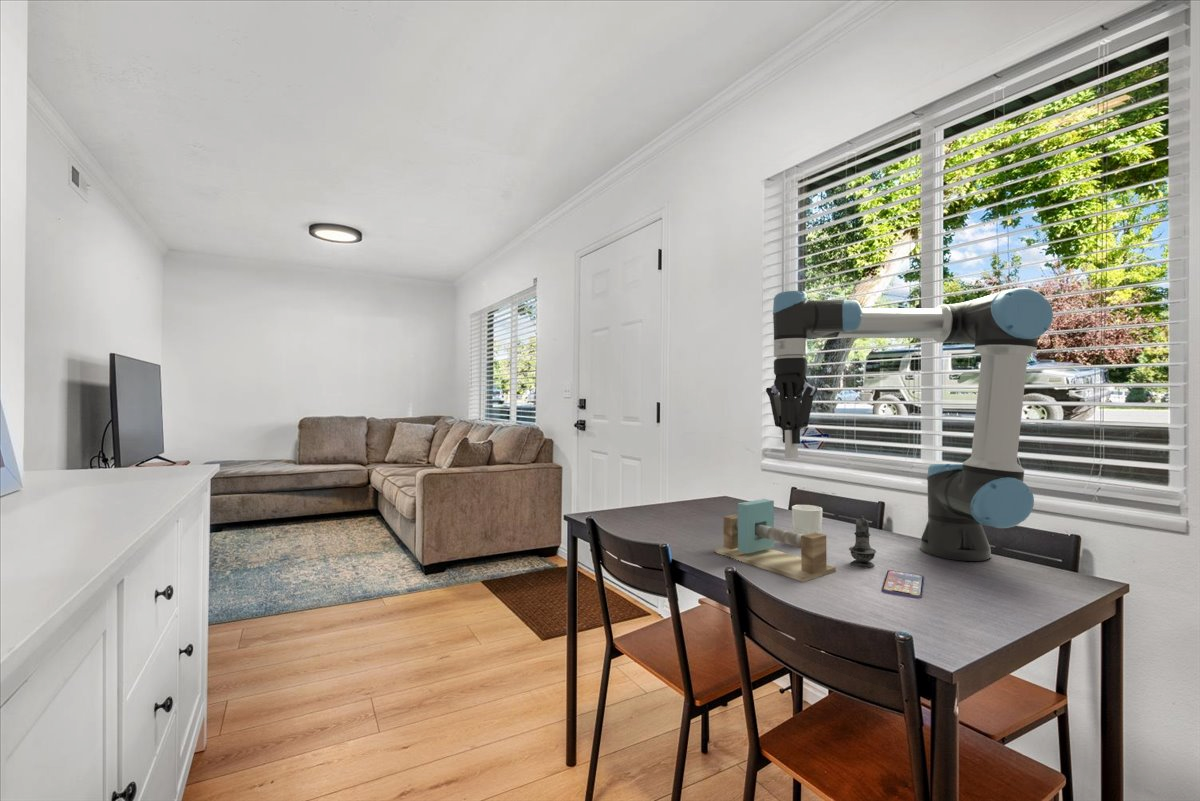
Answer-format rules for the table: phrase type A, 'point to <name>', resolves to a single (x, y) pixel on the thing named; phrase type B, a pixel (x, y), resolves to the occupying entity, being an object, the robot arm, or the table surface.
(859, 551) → the black chess piece
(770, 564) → the pipe stand
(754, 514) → the collar
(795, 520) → the white cup
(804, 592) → the table surface
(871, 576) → the table surface
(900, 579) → the smartphone
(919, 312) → the robot arm
